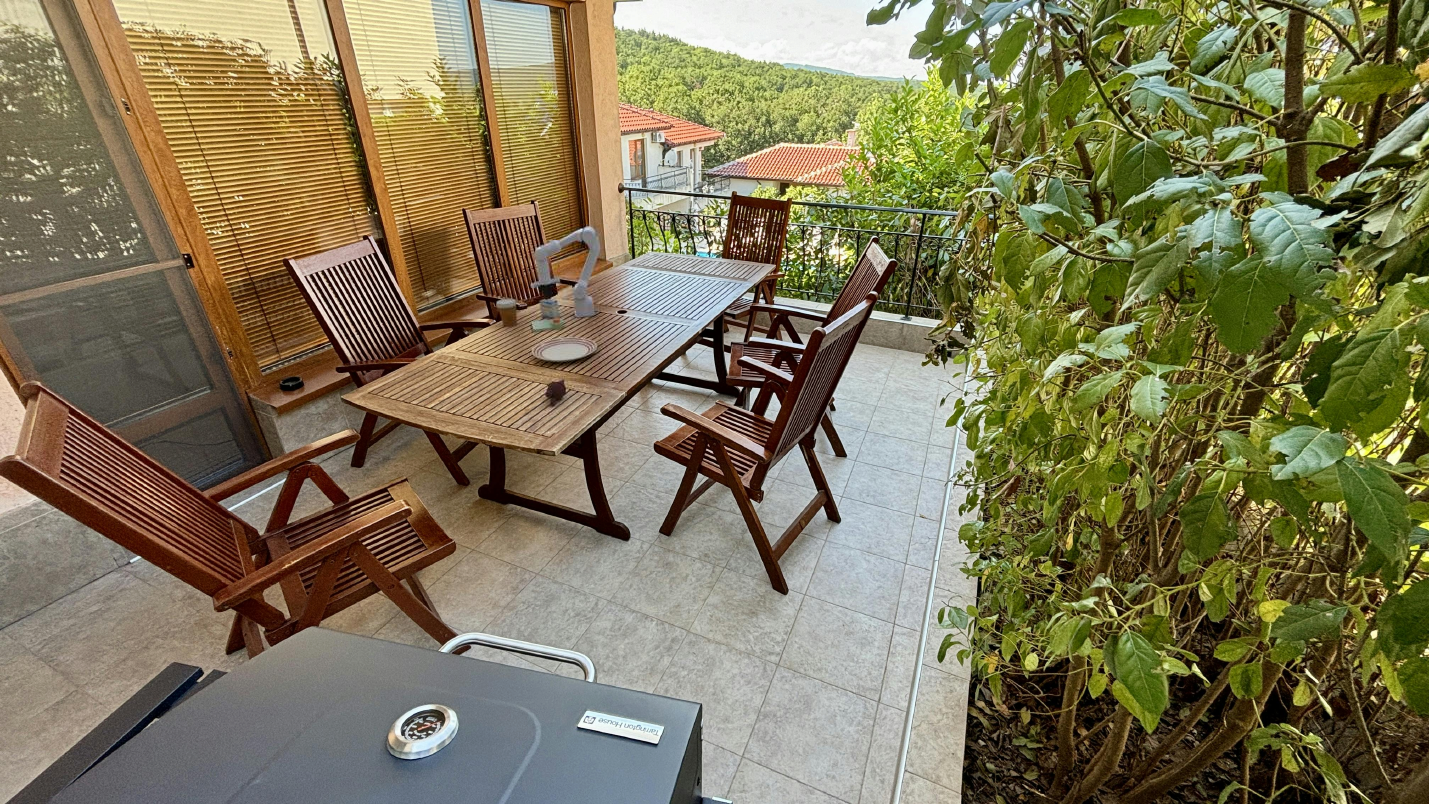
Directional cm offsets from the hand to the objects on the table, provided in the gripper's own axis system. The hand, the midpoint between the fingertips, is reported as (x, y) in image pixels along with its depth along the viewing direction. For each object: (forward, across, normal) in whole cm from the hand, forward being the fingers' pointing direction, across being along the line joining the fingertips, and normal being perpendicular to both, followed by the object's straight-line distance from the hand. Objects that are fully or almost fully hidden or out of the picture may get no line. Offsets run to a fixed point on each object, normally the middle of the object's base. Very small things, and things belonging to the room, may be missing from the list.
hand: (547, 299), depth 300 cm
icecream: (+10, -38, -88) cm, 97 cm away
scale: (+9, -8, -12) cm, 17 cm away
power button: (+7, -4, -17) cm, 19 cm away
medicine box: (+10, 0, 0) cm, 10 cm away
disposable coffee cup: (+10, -20, +3) cm, 23 cm away
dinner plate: (+10, -17, -51) cm, 55 cm away
